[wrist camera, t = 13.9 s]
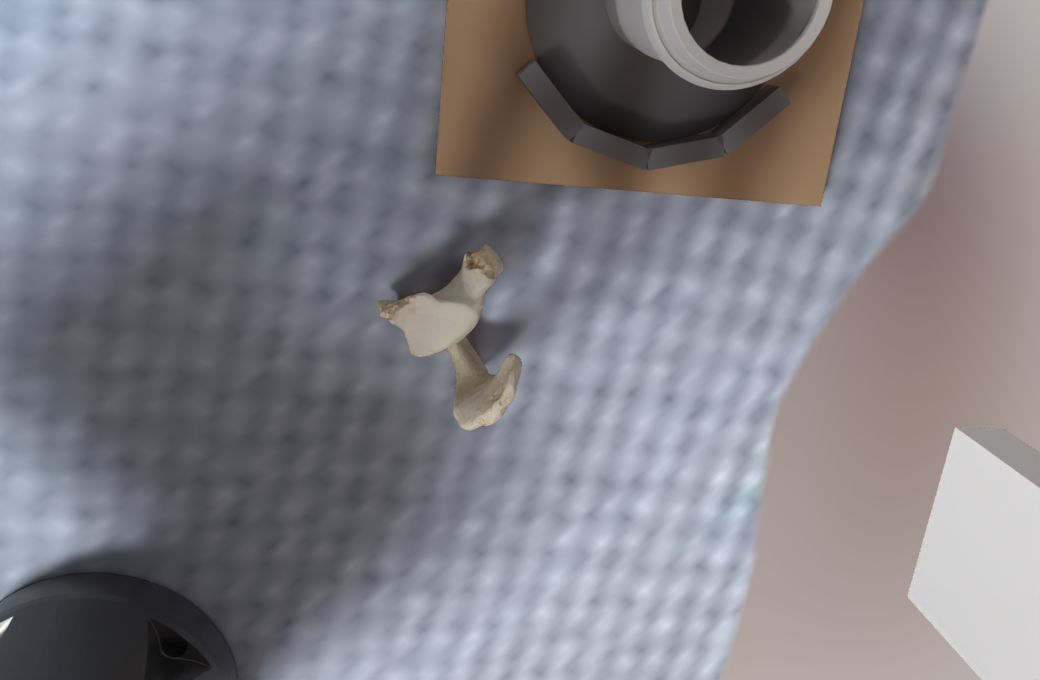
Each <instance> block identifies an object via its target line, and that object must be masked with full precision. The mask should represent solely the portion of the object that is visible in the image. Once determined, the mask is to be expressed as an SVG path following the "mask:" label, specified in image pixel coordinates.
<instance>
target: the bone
mask: <svg viewBox="0 0 1040 680" xmlns="http://www.w3.org/2000/svg"><path fill="white" fill-rule="evenodd" d="M503 269H504V265H503V264H502V262H501V260H500V258H499V256H498V254H497V253H496V252H495V251H494V250H493V249H492V248H491V247H489V246H487V245H486V244H484V247H483V248H482V249H481V250H479V251H476V252H467V253H465V255H464V260H463V265H462V267H461V270H460V271H459V273H458V274H457V275H456V276H455V277H454V278H453V279H452V281H451V282H450V283H449V284H448V285H447V286H446V287H444V288H443V289H442V290H440V291H438V292H436V293H433V294H428V293H425V292H423V293H418V294H413V295H410V296H407V297H406V298H404V299H401V300H398V301H378V305H377V308H378V309H379V310H380V311H381V312H380V317H384V318H390V323H392V324H394V325H396V326H398V327H399V328H400V329H401V330H403V331H404V334H405V337H406V339H407V342H408V345H409V349H410V352H411V353H412V354H414V355H415V356H418V357H425V356H429V355H432V354H435V353H438V352H441V351H443V350H445V349H448V351H449V353H450V355H451V358H452V361H453V364H454V367H455V371H456V378H457V384H456V388H455V398H454V408H453V415H454V417H455V419H456V420H457V421H458V423H459V425H460V427H461V428H462V429H465V430H469V431H471V430H474V429H476V428H478V427H480V426H482V425H483V426H489V425H491V424H493V423H495V422H497V421H498V420H499V419H500V418H501V417H502V415H503V414H504V412H505V410H506V408H507V406H508V405H509V404H510V403H511V402H512V401H513V400H514V398H515V394H516V389H517V384H518V380H519V377H520V374H521V368H522V362H521V359H520V358H519V357H518V356H517V355H515V354H510V355H508V356H507V357H506V358H505V360H504V361H503V362H502V364H501V367H500V370H499V371H498V373H497V374H496V375H491V374H489V373H488V371H487V369H486V367H485V365H484V363H483V361H482V360H481V358H480V357H479V355H478V354H477V353H476V351H475V350H474V348H473V347H472V345H471V344H470V342H469V340H468V339H467V337H466V335H468V334H469V333H470V332H471V331H472V330H473V328H474V327H475V326H476V324H477V323H478V321H479V319H480V317H481V315H482V310H483V300H484V296H485V294H486V291H487V290H488V288H489V287H490V286H491V285H492V284H493V283H494V282H495V280H496V279H497V276H499V275H500V274H501V272H502V271H503Z"/></svg>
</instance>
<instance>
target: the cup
mask: <svg viewBox="0 0 1040 680" xmlns="http://www.w3.org/2000/svg"><path fill="white" fill-rule="evenodd" d="M832 2H833V0H606V8H607V13H608V17H609V20H610V23H611V25H612V27H613V29H614V30H615V32H616V33H617V34H618V36H619V37H620V38H621V39H622V40H624V41H625V42H626V43H627V44H629V45H631V46H633V47H635V48H637V49H638V50H640V51H641V52H643V53H644V54H646V55H647V56H650V57H652V58H655V59H657V60H660V61H662V62H664V63H665V64H666V65H667V66H668V68H669V69H671V70H672V71H673V72H674V73H675V74H677V75H678V76H680V77H681V78H683V79H685V80H687V81H688V82H690V83H693V84H695V85H698V86H701V87H704V88H709V89H715V90H737V89H743V88H748V87H752V86H755V85H758V84H761V83H763V82H765V81H768V80H770V79H772V78H773V77H775V76H777V75H779V74H781V73H782V72H783V71H785V70H786V69H787V68H789V67H790V66H791V65H793V64H794V63H795V62H797V61H798V59H799V58H800V57H801V56H802V55H803V54H804V53H805V52H806V51H807V50H808V49H809V48H810V47H811V45H812V44H813V42H814V41H815V39H816V38H817V36H818V35H819V33H820V32H821V30H822V28H823V27H824V24H825V22H826V20H827V17H828V15H829V12H830V9H831V6H832Z"/></svg>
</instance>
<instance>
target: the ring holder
mask: <svg viewBox="0 0 1040 680" xmlns="http://www.w3.org/2000/svg"><path fill="white" fill-rule="evenodd" d="M863 4H864V0H833V2H832V6H831V9H830V12H829V15H828V17H827V20H826V22H825V24H824V27H823V28H822V30H821V32H820V33H819V35H818V36H817V38H816V39H815V41H814V42H813V44H812V45H811V47H810V48H809V49H808V50H807V51H806V52H805V53H804V54H803V55H802V56H801V57H800V58H799V59H798V61H797V62H795V63H794V64H793V65H791V66H790V67H789V68H787V69H786V70H785V71H783V72H782V73H781V74H779V75H777V76H775V77H773V78H772V79H770V80H768V81H765V82H763V83H761V84H758V85H755V86H752V87H748V88H743V89H737V90H715V89H709V88H704V87H701V86H698V85H695V84H693V83H690V82H688V81H687V80H685V79H683V78H681V77H680V76H678V75H677V74H675V73H674V72H673V71H672V70H671V69H669V68H668V66H667V65H666V64H665V63H664V62H662V61H660V60H657V59H655V58H652V57H650V56H647V55H646V54H644V53H643V52H641V51H640V50H638V49H637V48H635V47H633V46H631V45H629V44H627V43H626V42H625V41H624V40H622V39H621V38H620V37H619V36H618V34H617V33H616V32H615V30H614V29H613V27H612V25H611V23H610V20H609V17H608V13H607V8H606V0H447V8H446V22H445V36H444V51H443V65H442V79H441V93H440V107H439V121H438V135H437V149H436V163H435V173H436V175H445V176H457V177H470V178H482V179H494V180H506V181H518V182H531V183H543V184H555V185H567V186H580V187H592V188H604V189H616V190H628V191H641V192H653V193H665V194H677V195H689V196H702V197H714V198H726V199H738V200H750V201H763V202H775V203H787V204H799V205H811V206H821V202H822V198H823V193H824V188H825V183H826V179H827V174H828V169H829V165H830V160H831V155H832V150H833V146H834V141H835V136H836V131H837V127H838V122H839V117H840V112H841V108H842V103H843V98H844V94H845V89H846V84H847V79H848V75H849V70H850V65H851V60H852V56H853V51H854V46H855V42H856V37H857V32H858V27H859V23H860V18H861V13H862V8H863Z"/></svg>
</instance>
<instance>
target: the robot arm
mask: <svg viewBox="0 0 1040 680" xmlns="http://www.w3.org/2000/svg"><path fill="white" fill-rule="evenodd" d="M908 598H909V599H910V600H911V601H912V602H913V603H914V604H915V606H916V607H917V608H918V609H919V610H920V611H921V612H922V613H923V615H924V616H925V617H926V618H927V619H928V620H929V621H930V622H931V623H932V625H933V626H934V627H935V628H936V629H937V630H938V631H939V633H941V635H942V636H943V637H944V638H945V639H946V640H947V641H948V643H949V644H950V645H951V646H952V647H953V648H954V649H955V650H956V652H957V653H959V655H960V656H961V657H962V658H963V659H964V660H965V662H966V663H967V664H968V665H969V666H970V667H971V668H972V669H973V671H974V672H975V673H976V674H977V675H978V676H979V677H980V678H981V680H1040V452H1039V451H1037V450H1035V449H1034V448H1032V447H1031V446H1029V445H1028V444H1026V443H1025V442H1023V441H1022V440H1020V439H1019V438H1017V437H1016V436H1014V435H1013V434H1011V433H1010V432H1008V431H1007V430H1005V429H985V428H962V427H955V431H954V434H953V437H952V441H951V444H950V448H949V451H948V455H947V458H946V462H945V465H944V469H943V472H942V476H941V479H940V483H939V487H938V490H937V494H936V497H935V501H934V504H933V508H932V512H931V515H930V518H929V522H928V526H927V529H926V533H925V536H924V540H923V543H922V547H921V550H920V554H919V557H918V561H917V564H916V568H915V571H914V575H913V578H912V582H911V586H910V589H909V593H908ZM0 680H237V672H236V667H235V662H234V659H233V656H232V653H231V651H230V649H229V646H228V644H227V643H226V641H225V639H224V637H223V636H222V634H221V633H220V631H219V630H218V629H217V627H216V626H215V625H214V624H213V623H212V621H211V620H210V619H209V618H208V617H207V616H206V615H205V614H204V613H202V612H201V611H200V610H199V609H198V608H197V607H195V606H194V605H193V604H191V603H190V602H188V601H187V600H186V599H184V598H182V597H181V596H179V595H177V594H175V593H173V592H171V591H169V590H167V589H165V588H163V587H161V586H158V585H155V584H153V583H150V582H147V581H143V580H140V579H136V578H132V577H127V576H121V575H113V574H99V573H87V574H73V575H66V576H60V577H56V578H51V579H48V580H44V581H41V582H38V583H35V584H32V585H30V586H28V587H25V588H23V589H21V590H19V591H17V592H15V593H13V594H12V595H10V596H8V597H7V598H5V599H4V600H2V601H1V602H0Z"/></svg>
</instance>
